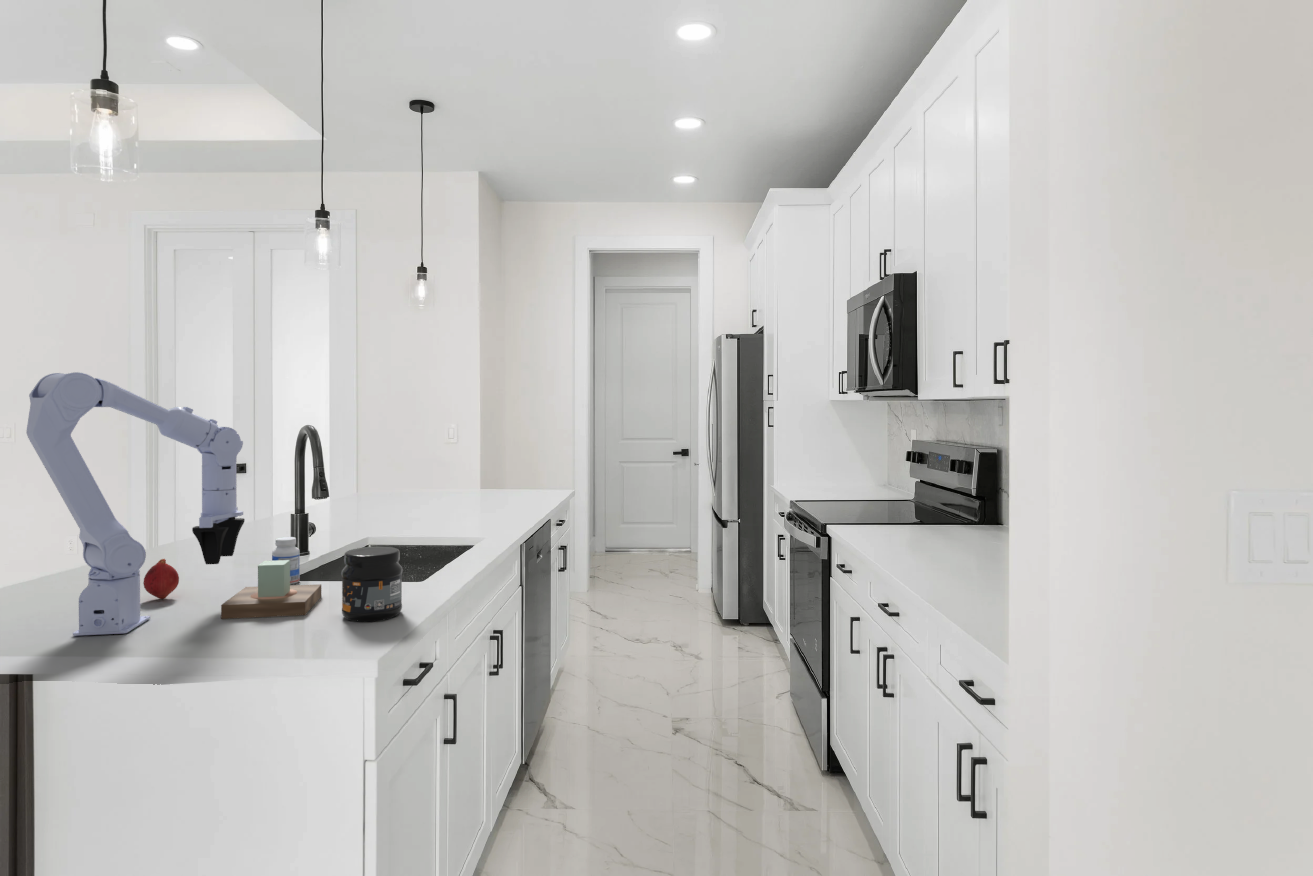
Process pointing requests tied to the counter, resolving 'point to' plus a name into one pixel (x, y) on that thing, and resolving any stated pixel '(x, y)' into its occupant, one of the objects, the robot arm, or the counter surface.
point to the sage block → (273, 578)
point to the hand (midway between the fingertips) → (219, 559)
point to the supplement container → (371, 584)
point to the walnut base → (271, 603)
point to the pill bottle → (288, 556)
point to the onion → (161, 580)
